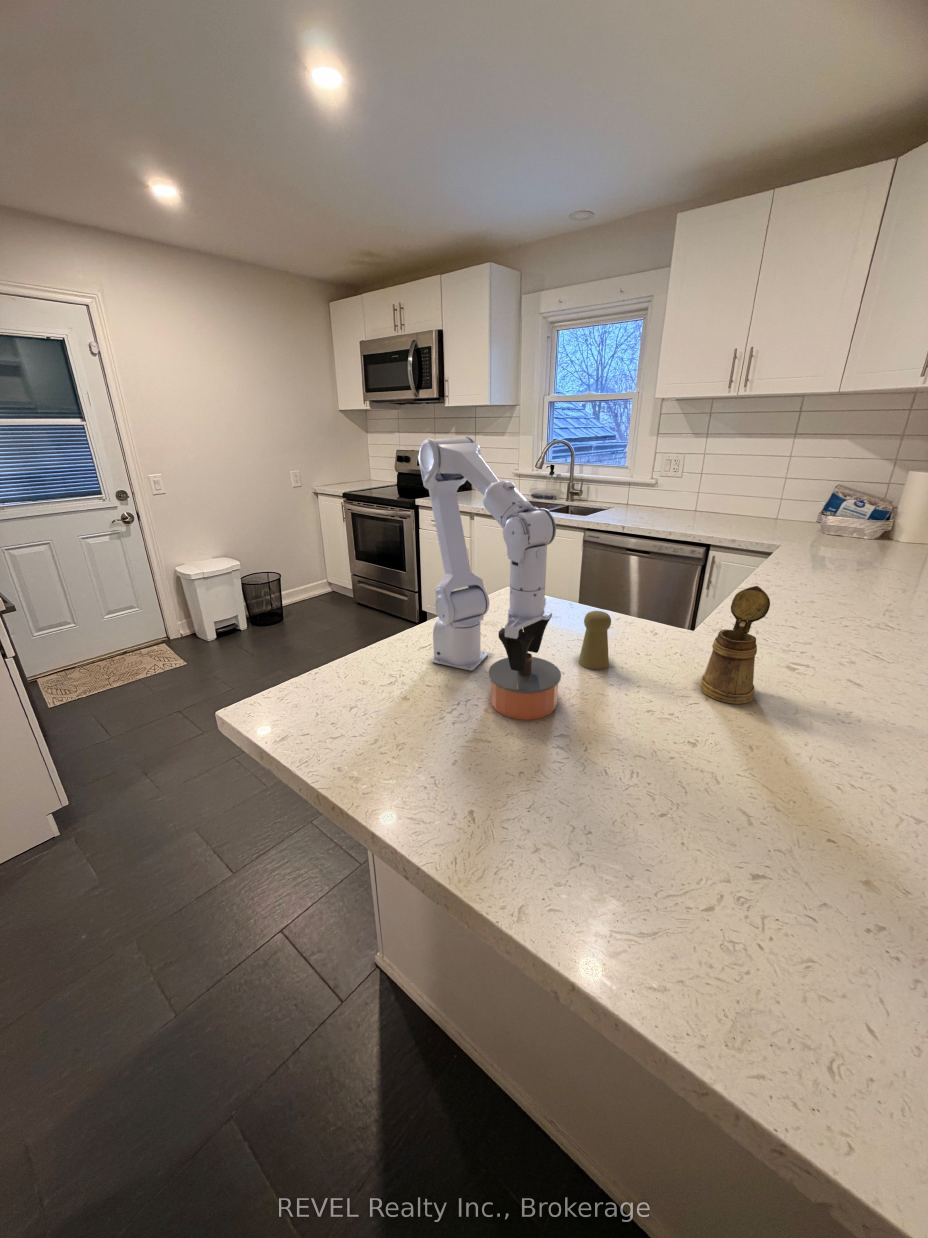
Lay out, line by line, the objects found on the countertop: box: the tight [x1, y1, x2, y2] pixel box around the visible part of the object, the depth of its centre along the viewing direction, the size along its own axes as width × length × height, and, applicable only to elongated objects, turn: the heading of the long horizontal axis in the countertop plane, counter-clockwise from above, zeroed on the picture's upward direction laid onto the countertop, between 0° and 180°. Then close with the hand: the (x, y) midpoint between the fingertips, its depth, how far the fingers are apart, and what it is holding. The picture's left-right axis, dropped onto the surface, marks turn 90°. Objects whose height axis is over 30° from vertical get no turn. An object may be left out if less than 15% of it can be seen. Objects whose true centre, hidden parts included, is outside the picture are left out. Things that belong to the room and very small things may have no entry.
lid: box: [488, 652, 562, 693], centre depth 86 cm, size 13×13×4 cm
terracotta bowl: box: [490, 680, 559, 721], centre depth 88 cm, size 12×12×5 cm
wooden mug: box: [699, 585, 771, 705], centre depth 89 cm, size 9×14×18 cm, turn 140°
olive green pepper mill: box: [578, 610, 612, 670], centre depth 100 cm, size 6×6×11 cm
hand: (525, 660), depth 85 cm, fingers open, 7 cm apart
